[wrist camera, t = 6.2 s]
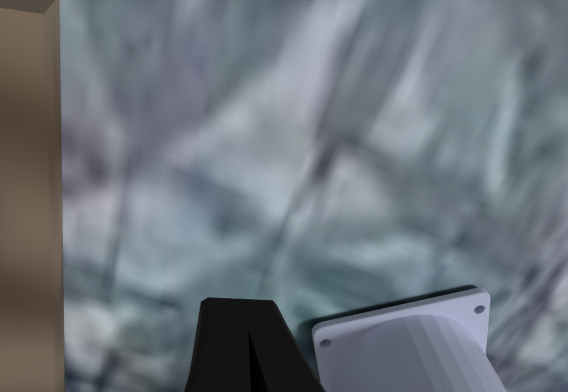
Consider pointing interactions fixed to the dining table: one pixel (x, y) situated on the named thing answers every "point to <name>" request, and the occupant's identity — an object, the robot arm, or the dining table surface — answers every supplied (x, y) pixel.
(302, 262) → the dining table surface
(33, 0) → the button panel
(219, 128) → the dining table surface
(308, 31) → the dining table surface
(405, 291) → the dining table surface
